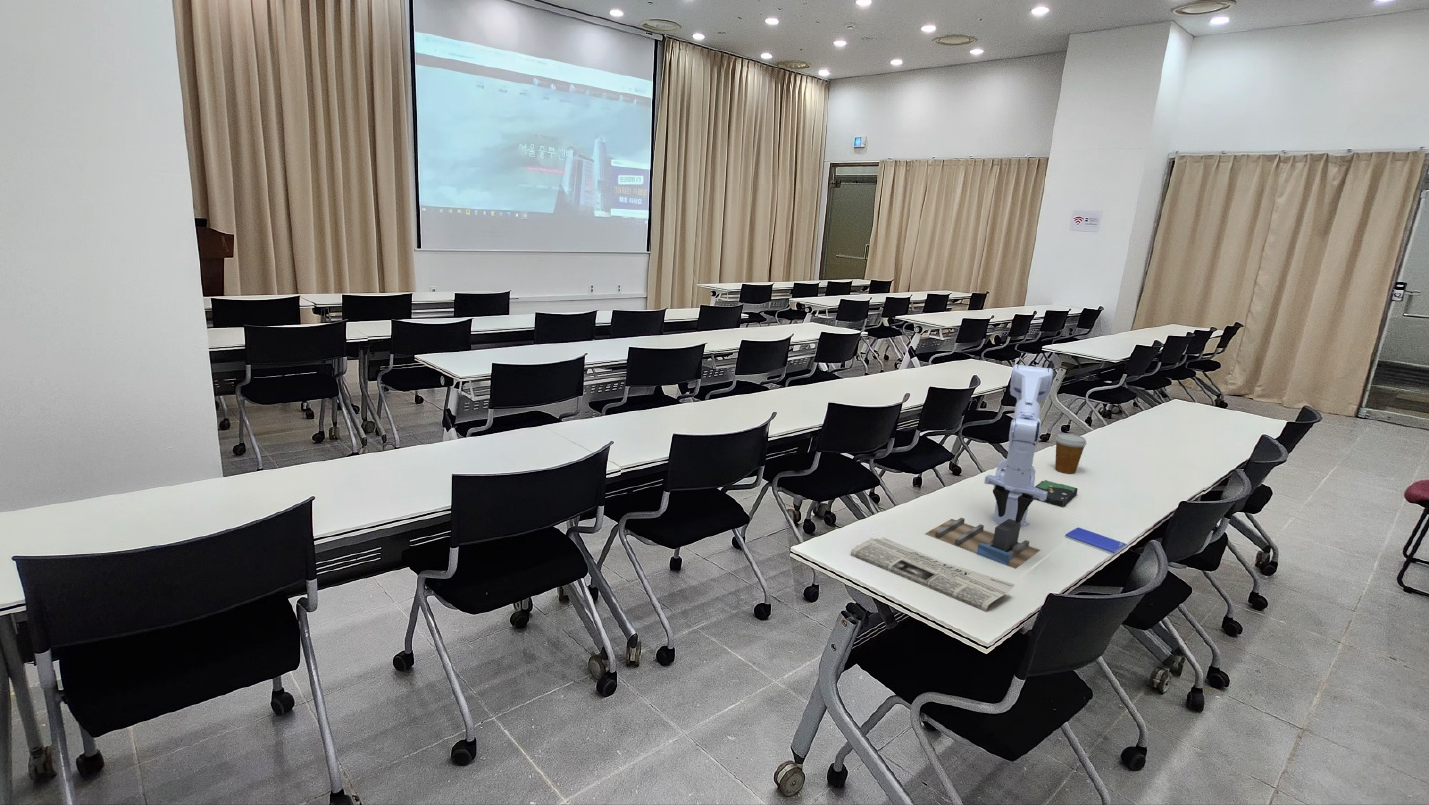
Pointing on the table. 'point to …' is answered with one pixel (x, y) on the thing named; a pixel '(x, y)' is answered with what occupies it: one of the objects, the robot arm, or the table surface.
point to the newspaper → (933, 572)
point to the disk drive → (1057, 493)
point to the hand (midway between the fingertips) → (1009, 518)
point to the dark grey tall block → (1006, 535)
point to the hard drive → (1096, 541)
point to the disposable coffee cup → (1068, 452)
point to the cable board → (981, 542)
